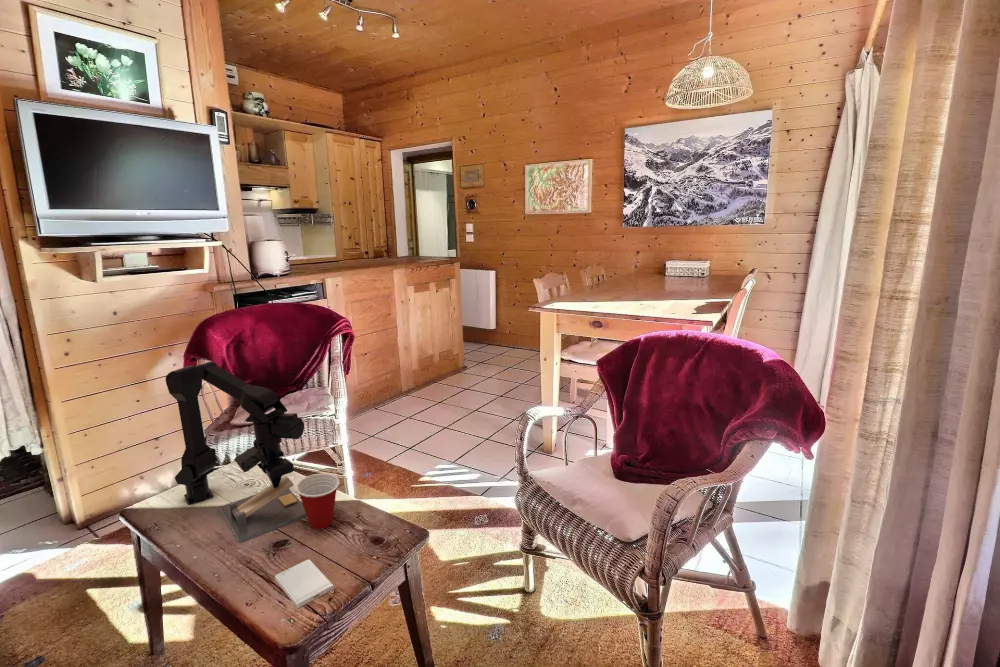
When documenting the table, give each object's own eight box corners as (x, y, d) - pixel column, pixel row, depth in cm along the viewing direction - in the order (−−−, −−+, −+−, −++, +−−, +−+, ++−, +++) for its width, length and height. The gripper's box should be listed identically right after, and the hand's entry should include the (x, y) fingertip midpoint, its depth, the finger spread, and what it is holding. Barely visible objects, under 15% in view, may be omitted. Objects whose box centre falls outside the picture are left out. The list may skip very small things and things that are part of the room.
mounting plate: (219, 509, 142) (217, 496, 141) (285, 487, 153) (283, 474, 152) (239, 543, 127) (236, 528, 126) (310, 515, 138) (308, 501, 137)
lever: (233, 515, 137) (230, 510, 136) (288, 479, 145) (285, 474, 145) (238, 523, 133) (235, 518, 133) (294, 485, 142) (291, 481, 141)
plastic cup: (316, 541, 127) (311, 498, 124) (292, 526, 133) (287, 485, 131) (351, 520, 136) (347, 479, 133) (326, 507, 142) (322, 468, 139)
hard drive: (274, 575, 113) (297, 603, 105) (309, 558, 119) (334, 584, 110) (275, 581, 114) (298, 610, 105) (310, 564, 119) (334, 590, 111)
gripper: (225, 435, 139) (235, 486, 143) (245, 457, 125) (255, 512, 129) (267, 423, 146) (276, 471, 150) (290, 442, 132) (298, 495, 136)
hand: (275, 487), depth 141 cm, fingers closed, pressing on lever
